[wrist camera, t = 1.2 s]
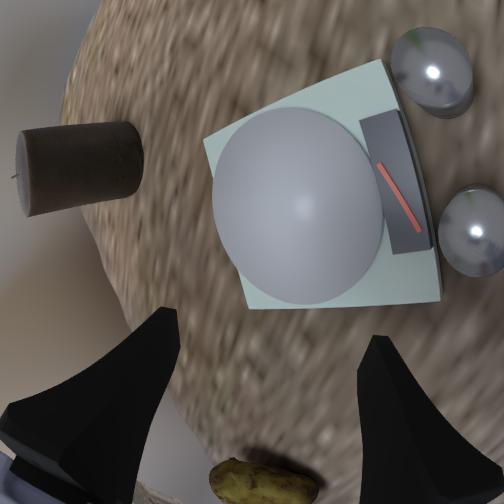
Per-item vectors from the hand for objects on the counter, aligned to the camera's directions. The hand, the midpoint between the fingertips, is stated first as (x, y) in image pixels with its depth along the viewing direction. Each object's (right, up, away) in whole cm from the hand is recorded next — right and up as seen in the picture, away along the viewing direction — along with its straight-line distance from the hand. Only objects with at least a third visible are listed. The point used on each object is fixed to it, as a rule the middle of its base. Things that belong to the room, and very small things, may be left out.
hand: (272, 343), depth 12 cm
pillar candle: (-17, +15, +26) cm, 35 cm away
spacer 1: (+10, +13, +3) cm, 17 cm away
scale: (+4, +7, +11) cm, 14 cm away
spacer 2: (+13, +5, +4) cm, 14 cm away
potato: (+3, -24, +23) cm, 33 cm away
